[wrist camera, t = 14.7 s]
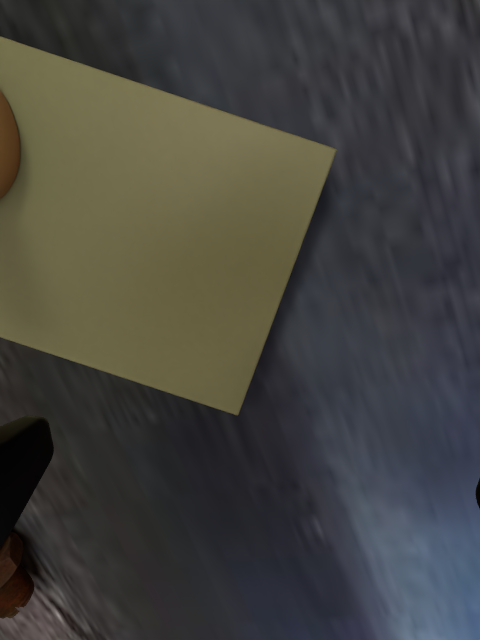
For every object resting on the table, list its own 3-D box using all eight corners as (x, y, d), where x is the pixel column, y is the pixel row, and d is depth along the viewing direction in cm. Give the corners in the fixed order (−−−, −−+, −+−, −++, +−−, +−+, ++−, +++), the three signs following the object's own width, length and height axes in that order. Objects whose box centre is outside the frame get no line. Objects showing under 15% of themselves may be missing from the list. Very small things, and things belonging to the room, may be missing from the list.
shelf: (325, 158, 17) (337, 149, 13) (244, 379, 21) (237, 416, 18) (-68, 27, 17) (-162, -18, 13) (-63, 277, 21) (-131, 294, 18)
